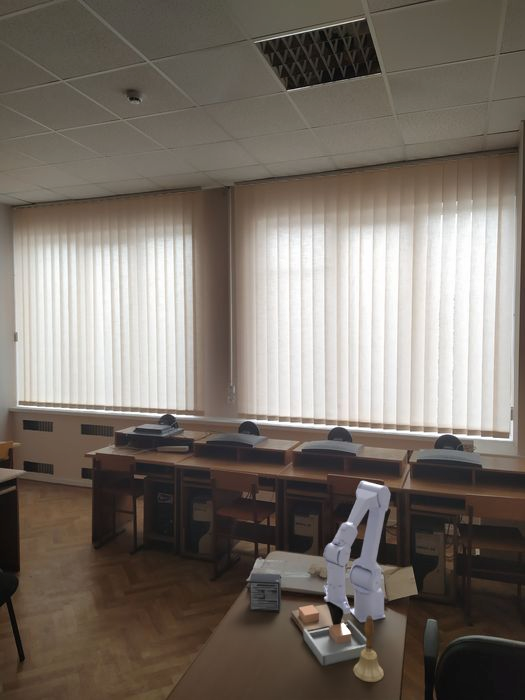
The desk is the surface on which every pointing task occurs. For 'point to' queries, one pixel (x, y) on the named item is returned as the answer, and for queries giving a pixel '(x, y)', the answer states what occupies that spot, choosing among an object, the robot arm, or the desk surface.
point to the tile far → (308, 613)
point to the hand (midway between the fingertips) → (336, 624)
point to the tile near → (340, 633)
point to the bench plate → (315, 625)
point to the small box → (265, 592)
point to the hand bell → (368, 658)
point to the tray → (335, 645)
